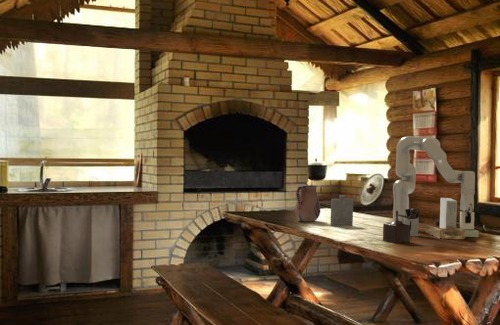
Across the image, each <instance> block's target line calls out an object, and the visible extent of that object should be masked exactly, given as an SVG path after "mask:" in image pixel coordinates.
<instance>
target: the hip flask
mask: <svg viewBox="0 0 500 325" xmlns="http://www.w3.org/2000/svg"><path fill="white" fill-rule="evenodd" d="M338 197H339V198H331V200H330V224H329V226H330V227H353V224H354V223H353V222H354V218H353V217H354V199H353V198H345V197H346V195H340V194H339V196H338Z"/></svg>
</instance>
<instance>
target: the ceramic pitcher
mask: <svg viewBox="0 0 500 325" xmlns="http://www.w3.org/2000/svg"><path fill="white" fill-rule="evenodd" d="M317 188H318V185H313V184H311V185H309V184H307V185H306V184H299V186H297V189H296V192H295V193H296V195H295V196H296V203H295V208H294V211H295V212H294V213H295V216H296V218H297V219H298V220H299V221H300V222H305V223H306V222H307V223H310V222H315V221H317V219H319V218H320V215H321V204H320V200H319V196H318V193H317Z"/></svg>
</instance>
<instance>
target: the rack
mask: <svg viewBox="0 0 500 325" xmlns="http://www.w3.org/2000/svg"><path fill="white" fill-rule="evenodd" d="M444 230H446V231H452V234H453V235H454V236H443V233H444ZM425 233H426V234H428V235H430V236H432V235H433V236H432V237H435V238H438V239H440V238H442V239H441V240H465V238H466V237H465V230H462V229H460V227H459V228H458V227H457V226H456V227H453V226H450V225H446V228H440V227H435V226H433V225H430V224H425ZM444 238H445V239H444Z"/></svg>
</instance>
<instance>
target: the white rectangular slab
mask: <svg viewBox="0 0 500 325" xmlns="http://www.w3.org/2000/svg"><path fill="white" fill-rule="evenodd" d="M465 216H466V212H463V211H459V229H469V230H475V212H474V211H472V214H471V223H465Z"/></svg>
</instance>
